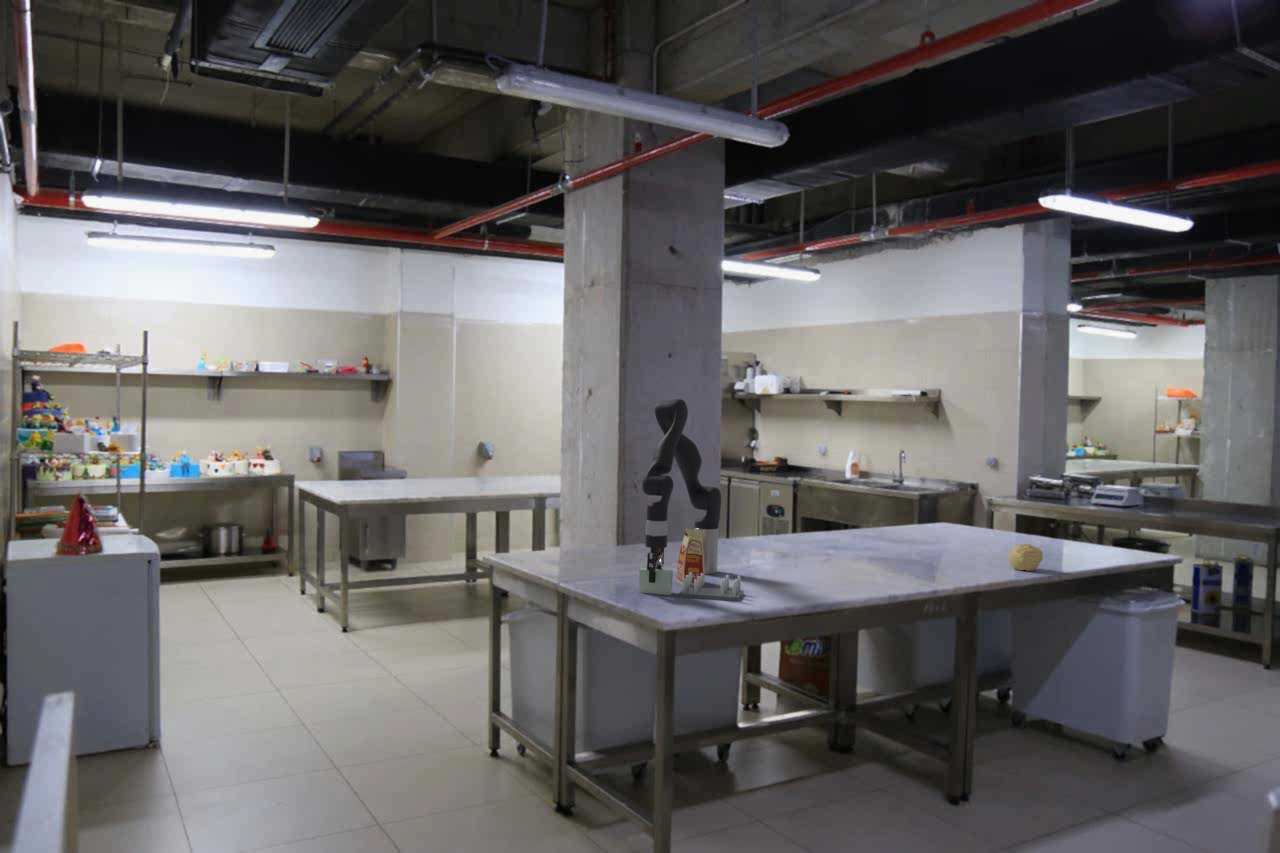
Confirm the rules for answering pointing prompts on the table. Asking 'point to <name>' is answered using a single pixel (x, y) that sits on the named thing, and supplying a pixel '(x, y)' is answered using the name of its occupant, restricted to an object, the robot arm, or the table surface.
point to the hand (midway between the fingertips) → (655, 580)
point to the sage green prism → (661, 584)
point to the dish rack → (711, 589)
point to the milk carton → (691, 556)
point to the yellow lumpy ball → (1025, 557)
